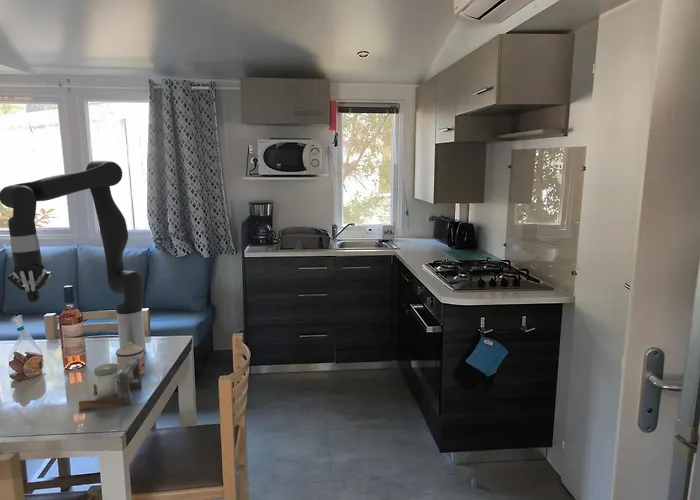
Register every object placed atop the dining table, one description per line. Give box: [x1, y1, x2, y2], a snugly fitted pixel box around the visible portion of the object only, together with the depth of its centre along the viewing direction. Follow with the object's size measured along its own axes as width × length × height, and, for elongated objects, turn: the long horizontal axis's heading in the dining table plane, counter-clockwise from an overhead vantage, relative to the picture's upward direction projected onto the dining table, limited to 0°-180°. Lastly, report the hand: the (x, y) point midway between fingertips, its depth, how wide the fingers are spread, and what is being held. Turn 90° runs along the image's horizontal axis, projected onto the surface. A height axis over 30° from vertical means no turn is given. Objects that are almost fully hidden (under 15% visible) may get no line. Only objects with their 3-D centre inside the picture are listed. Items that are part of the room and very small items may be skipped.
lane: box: [78, 357, 143, 410], centre depth 154 cm, size 13×14×10 cm
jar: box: [93, 363, 119, 398], centre depth 154 cm, size 7×7×10 cm
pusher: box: [113, 368, 138, 397], centre depth 155 cm, size 9×6×8 cm, turn 7°
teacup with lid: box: [115, 342, 146, 380], centre depth 173 cm, size 12×9×12 cm
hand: (34, 301), depth 158 cm, fingers closed
